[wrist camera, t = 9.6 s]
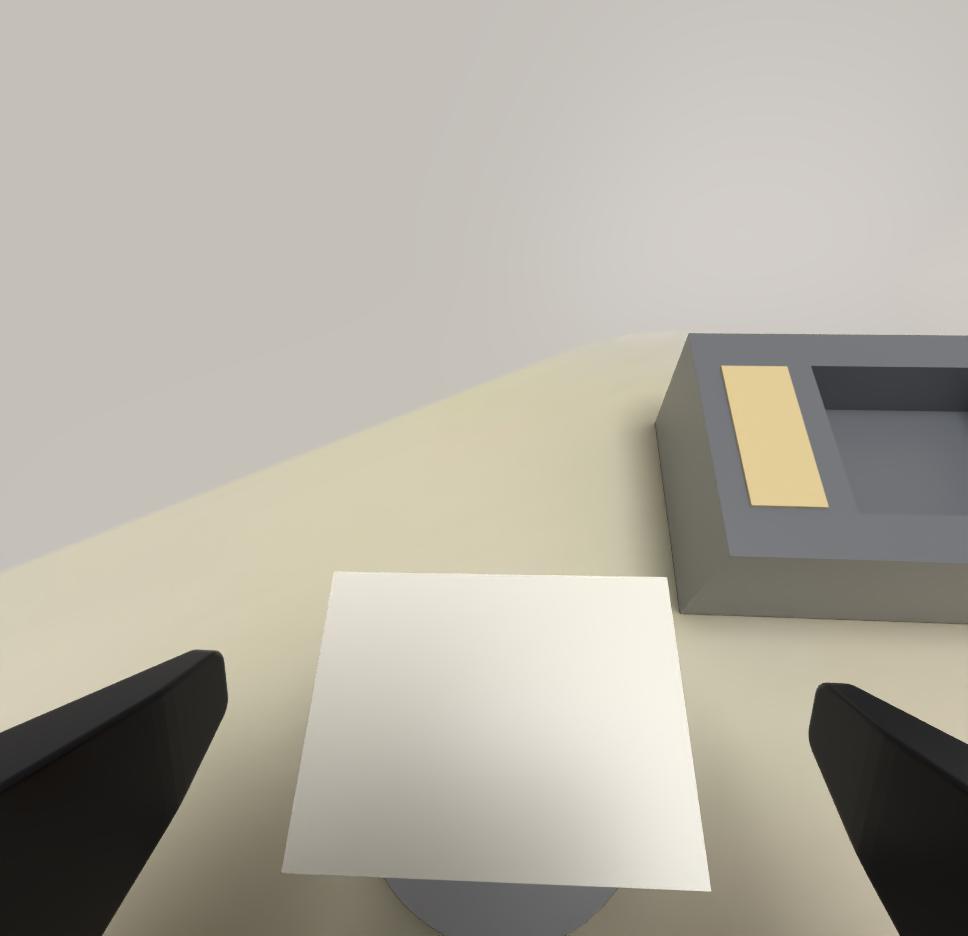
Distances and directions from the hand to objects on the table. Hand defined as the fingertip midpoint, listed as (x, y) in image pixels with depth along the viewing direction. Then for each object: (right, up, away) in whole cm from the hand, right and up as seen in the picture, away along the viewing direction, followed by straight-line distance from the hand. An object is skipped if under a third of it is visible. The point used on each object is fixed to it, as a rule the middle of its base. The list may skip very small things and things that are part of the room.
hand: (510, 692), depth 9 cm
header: (+12, +2, +10) cm, 15 cm away
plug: (0, -4, +5) cm, 6 cm away
